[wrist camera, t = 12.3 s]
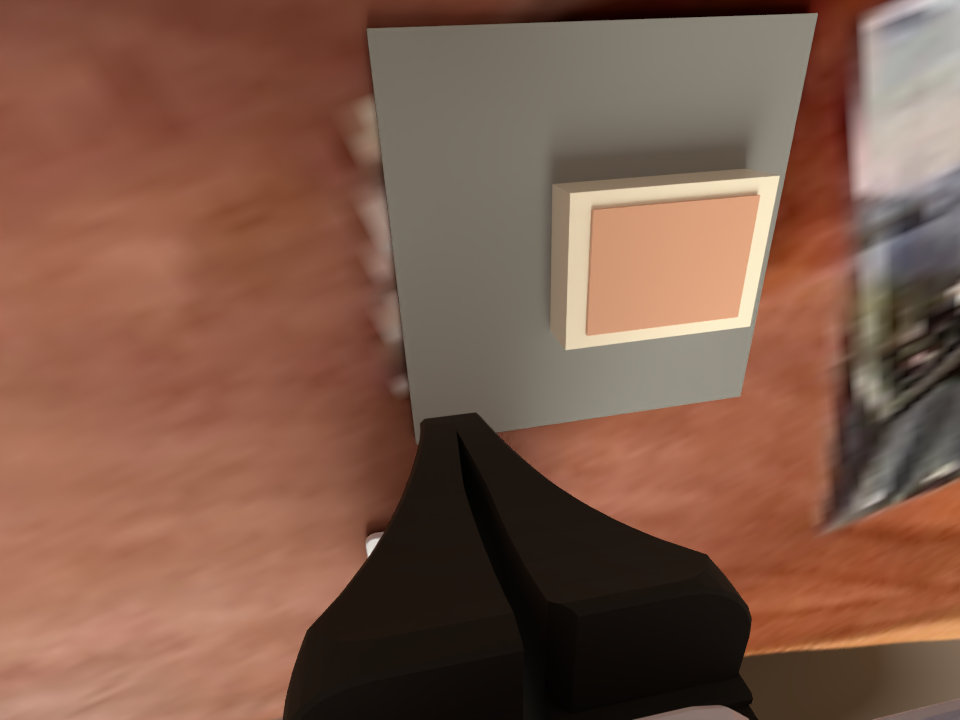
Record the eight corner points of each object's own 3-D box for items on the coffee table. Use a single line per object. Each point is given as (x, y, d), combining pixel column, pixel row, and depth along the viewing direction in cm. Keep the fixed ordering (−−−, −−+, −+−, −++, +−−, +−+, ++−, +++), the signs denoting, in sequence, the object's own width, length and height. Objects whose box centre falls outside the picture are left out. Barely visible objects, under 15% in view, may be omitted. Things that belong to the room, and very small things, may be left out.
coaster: (550, 330, 23) (722, 309, 24) (567, 352, 21) (753, 328, 22) (552, 184, 20) (746, 168, 22) (572, 194, 18) (783, 176, 20)
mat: (734, 391, 27) (740, 396, 27) (415, 438, 25) (416, 444, 24) (807, 15, 20) (817, 13, 20) (366, 29, 18) (366, 28, 17)
